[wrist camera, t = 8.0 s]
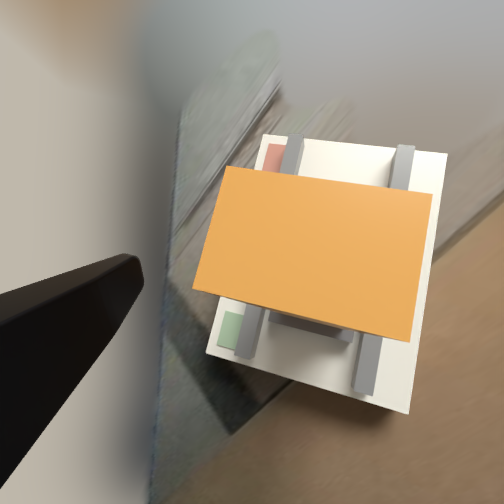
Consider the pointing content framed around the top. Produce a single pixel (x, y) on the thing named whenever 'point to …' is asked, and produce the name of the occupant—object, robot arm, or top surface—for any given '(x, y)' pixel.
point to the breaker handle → (317, 252)
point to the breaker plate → (364, 345)
